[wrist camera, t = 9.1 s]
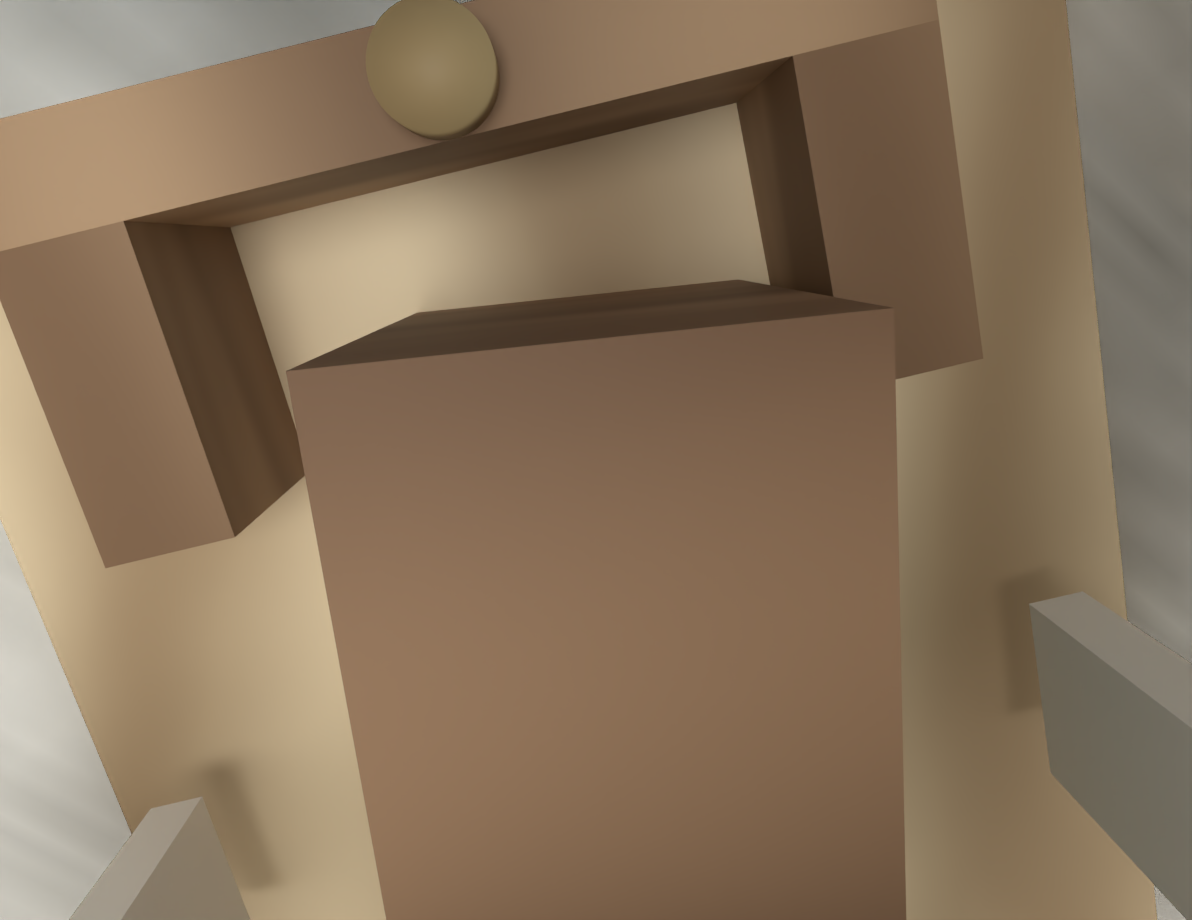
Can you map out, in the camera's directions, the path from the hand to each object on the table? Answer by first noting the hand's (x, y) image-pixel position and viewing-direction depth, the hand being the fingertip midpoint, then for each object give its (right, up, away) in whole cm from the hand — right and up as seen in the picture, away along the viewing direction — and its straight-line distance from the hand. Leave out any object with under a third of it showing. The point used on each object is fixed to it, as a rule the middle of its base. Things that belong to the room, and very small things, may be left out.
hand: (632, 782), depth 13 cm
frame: (0, 0, +1) cm, 1 cm away
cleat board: (0, +1, +2) cm, 2 cm away
